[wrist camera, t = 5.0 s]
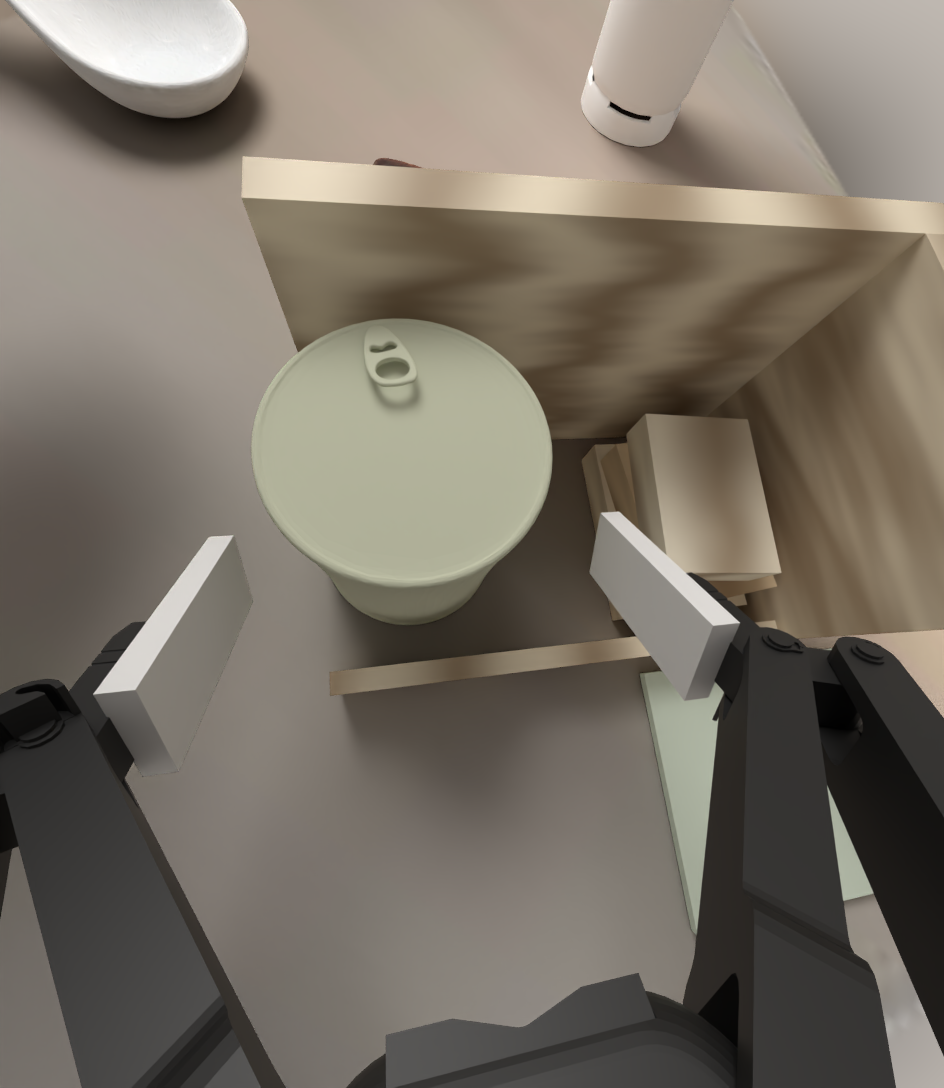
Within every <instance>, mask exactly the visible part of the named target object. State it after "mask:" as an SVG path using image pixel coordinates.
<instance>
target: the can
mask: <svg viewBox="0 0 944 1088" xmlns="http://www.w3.org/2000/svg"><path fill="white" fill-rule="evenodd" d="M552 457H553V456H552V443H551V436H550V431H549V427H548V424H547V420H546V417H545V414H544V412H543V410H542V407H541V405H540V403H539V401H538V399H537V397H536V395H535V393H534V392H533V390H532V389H531V387H530V386H529V384H528V383H527V381H526V380H525V379H524V378H523V376H522V375H521V374H520V373H519V372H518V370H517V369H516V368H515V367H514V366H513V365H512V364H511V363H510V362H509V361H508V360H506V359H505V358H504V357H503V356H502V355H501V354H499V353H498V352H497V351H495V350H494V349H493V348H491V347H490V346H488V345H487V344H485V343H483V342H482V341H480V340H478V339H477V338H475V337H473V336H470V335H468V334H466V333H464V332H462V331H460V330H457V329H454V328H451V327H448V326H445V325H441V324H437V323H433V322H429V321H423V320H415V319H394V318H391V319H378V320H371V321H365V322H361V323H357V324H353V325H349V326H347V327H344V328H341V329H338V330H335V331H333V332H331V333H329V334H327V335H325V336H323V337H321V338H319V339H317V340H315V341H314V342H312V343H311V344H309V345H308V346H306V347H305V348H303V349H302V350H301V351H300V352H298V353H297V354H296V355H295V356H294V357H293V358H291V359H290V360H289V361H288V362H287V364H286V365H285V366H284V367H283V368H282V369H281V370H280V371H279V373H278V374H277V375H276V376H275V378H274V379H273V381H272V382H271V384H270V386H269V387H268V389H267V390H266V392H265V395H264V397H263V399H262V401H261V403H260V405H259V408H258V411H257V414H256V417H255V421H254V426H253V431H252V441H251V460H252V467H253V473H254V478H255V482H256V486H257V489H258V492H259V494H260V497H261V500H262V502H263V504H264V506H265V508H266V510H267V512H268V514H269V515H270V517H271V519H272V520H273V522H274V523H275V525H276V526H277V527H278V529H279V530H280V531H281V533H282V534H283V535H284V536H285V537H286V538H287V539H288V540H289V542H290V543H291V544H292V545H293V546H295V547H296V548H297V549H298V550H299V551H300V552H301V553H302V554H304V555H305V556H306V557H308V558H309V559H310V560H312V561H313V562H315V563H316V564H317V565H318V566H319V567H321V568H322V569H323V570H324V571H325V572H326V573H327V574H328V575H329V577H330V578H331V579H332V581H333V582H334V584H335V586H336V587H337V589H338V591H339V592H340V593H341V594H342V596H343V597H344V598H345V599H346V600H347V601H348V602H349V603H350V604H351V605H353V606H354V607H355V608H356V609H358V610H359V611H361V612H362V613H364V614H366V615H368V616H370V617H372V618H374V619H377V620H380V621H383V622H386V623H391V624H396V625H419V624H425V623H429V622H433V621H436V620H439V619H441V618H444V617H446V616H448V615H450V614H451V613H453V612H455V611H456V610H458V609H459V608H460V607H462V606H463V605H464V604H465V603H466V602H467V601H468V600H469V599H470V598H471V597H472V596H473V595H474V594H475V592H476V591H477V590H478V588H479V587H480V585H481V583H482V581H483V579H484V578H485V575H486V574H487V573H488V572H489V571H490V570H491V568H492V567H493V566H494V565H495V564H496V563H497V562H498V561H499V560H501V559H502V558H503V557H504V556H506V555H507V554H508V553H509V552H510V551H511V550H512V549H513V548H514V547H515V546H516V545H517V544H518V543H519V542H520V541H521V540H522V539H523V538H524V536H525V535H526V534H527V533H528V531H529V530H530V528H531V527H532V525H533V524H534V522H535V521H536V519H537V517H538V515H539V513H540V511H541V509H542V506H543V504H544V502H545V499H546V496H547V493H548V489H549V484H550V479H551V474H552Z"/></svg>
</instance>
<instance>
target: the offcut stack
mask: <svg viewBox="0 0 944 1088" xmlns="http://www.w3.org/2000/svg"><path fill="white" fill-rule="evenodd" d="M626 437H627V443H622V444H603V445H594V446H593V447H592V448H591V450H590V451H589V452H588V453H587V454H586V455H585V457H584V458H583V459H582V460H581V461H582V466H583V471H584V476H585V482H586V487H587V492H588V497H589V502H590V508H591V513H592V518H593V523H594V528H595V534H596V535H597V529H598V524H599V518H600V513H605V512H620V513H621V514H622V515H623V516H624V517H625V518H627V519H628V520H629V521H630V522H631V523H632V524H633V525H634V526H635V527H636V528H637V529H639V530H640V531H641V532H642V533H643V534H644V535H645V536H646V537H647V538H648V539H649V540H651V541H652V542H653V543H654V544H655V545H656V546H657V547H658V548H659V549H660V550H661V551H662V552H664V553H665V554H666V555H667V556H668V557H669V558H670V559H671V560H672V561H673V562H674V563H676V564H677V565H678V566H679V567H680V568H681V569H682V570H683V571H684V572H685V573H689V572H692V573H694V574H696V575H698V576H700V577H701V578H703V579H705V580H707V581H708V582H709V583H710V584H712V585H713V586H714V587H715V588H716V589H717V590H718V592H721V593H722V594H723V595H724V596H725V597H726V598H727V600H728V601H731V602H732V603H733V604H734V605H735V606H742V605H747V602H746V599H745V595H744V594H746V593H751V592H755V591H759V590H764V589H768V588H772V587H777V584H776V582H775V579H774V576H773V575H775V574H779V573H781V568H780V564H779V559H778V555H777V550H776V546H775V541H774V536H773V532H772V527H771V523H770V518H769V514H768V509H767V504H766V500H765V495H764V491H763V486H762V482H761V477H760V472H759V468H758V463H757V459H756V454H755V450H754V445H753V441H752V436H751V431H750V427H749V422H748V419H732V418H714V417H697V416H679V415H662V414H645V415H644V416H643V417H642V418H641V419H640V420H639V421H638V422H637V423H636V424H635V425H634V426H633V427H632V429H631V430H630V431H629V432H628V433H627V434H626ZM608 601H609V606H610V612H611V617H612V621H616V620H624V619H623V617H622V616H621V615H620V613H619V612H618V611H617V609H616V608H615V607H614V605H613V604H612V603H611V601H610V600H609V598H608Z"/></svg>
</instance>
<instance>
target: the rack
mask: <svg viewBox="0 0 944 1088" xmlns="http://www.w3.org/2000/svg"><path fill="white" fill-rule="evenodd" d="M242 200H243V203H244V205H245V208H246V211H247V214H248V216H249V219H250V222H251V225H252V227H253V230H254V233H255V236H256V238H257V241H258V244H259V247H260V249H261V252H262V255H263V258H264V260H265V263H266V266H267V269H268V271H269V274H270V277H271V280H272V282H273V285H274V288H275V291H276V293H277V296H278V299H279V301H280V304H281V307H282V310H283V312H284V315H285V318H286V321H287V323H288V326H289V329H290V332H291V334H292V337H293V340H294V343H295V345H296V348H297V351H298V352H300V351H301V350H302V349H303V348H305V347H306V346H308V345H309V344H311V343H312V342H314V341H315V340H317V339H319V338H321V337H323V336H325V335H327V334H329V333H331V332H333V331H335V330H338V329H341V328H344V327H347V326H349V325H353V324H357V323H361V322H365V321H371V320H378V319H391V318H394V319H415V320H423V321H429V322H433V323H437V324H441V325H445V326H448V327H451V328H454V329H457V330H460V331H462V332H464V333H466V334H468V335H470V336H473V337H475V338H477V339H478V340H480V341H482V342H483V343H485V344H487V345H488V346H490V347H491V348H493V349H494V350H495V351H497V352H498V353H499V354H501V355H502V356H503V357H504V358H505V359H506V360H508V361H509V362H510V363H511V364H512V365H513V366H514V367H515V368H516V369H517V370H518V372H519V373H520V374H521V375H522V376H523V378H524V379H525V380H526V381H527V383H528V384H529V386H530V387H531V389H532V390H533V392H534V393H535V395H536V397H537V399H538V401H539V403H540V405H541V407H542V410H543V412H544V414H545V417H546V420H547V424H548V427H549V431H550V436H551V440H556V439H584V438H612V437H626V434H627V433H628V432H629V431H630V430H631V429H632V427H633V426H634V425H635V424H636V423H637V422H638V421H639V420H640V419H641V418H642V417H643V416H644V415H645V414H662V415H679V416H697V417H714V418H732V419H748V422H749V427H750V431H751V436H752V441H753V445H754V450H755V454H756V459H757V463H758V468H759V472H760V477H761V482H762V486H763V491H764V495H765V500H766V504H767V509H768V514H769V518H770V523H771V527H772V532H773V536H774V541H775V546H776V550H777V555H778V559H779V564H780V568H781V573H779V574H775V575H773V576H774V579H775V582H776V584H777V587H772V588H768V589H764V590H759V591H755V592H751V593H746V594H744V595H745V599H746V602H747V605H742V606H737V607H738V608H739V609H740V610H741V611H742V612H743V613H744V614H746V615H747V616H748V617H749V618H750V619H751V620H752V621H754V622H755V623H756V624H757V625H758V626H759V627H769V628H774V629H778V630H781V631H783V632H786V633H789V634H790V635H792V636H793V637H795V638H797V639H799V638H815V637H831V636H848V635H864V634H880V633H896V632H912V631H928V630H944V203H933V202H918V201H903V200H888V199H873V198H858V197H843V196H828V195H813V194H799V193H784V192H769V191H754V190H739V189H724V188H709V187H694V186H679V185H664V184H649V183H634V182H619V181H604V180H589V179H574V178H559V177H544V176H529V175H514V174H500V173H485V172H470V171H455V170H440V169H425V168H410V167H395V166H380V165H365V164H350V163H335V162H320V161H305V160H290V159H275V158H260V157H245V156H243V167H242ZM646 656H651V655H650V654H649V653H648V651H647V650H646V649H645V647H644V646H643V644H642V643H641V642H640V640H639V639H638V638H637V636H635V637H626V638H618V639H609V640H601V641H592V642H583V643H575V644H566V645H558V646H549V647H540V648H532V649H523V650H515V651H506V652H497V653H489V654H480V655H472V656H463V657H454V658H446V659H437V660H429V661H420V662H411V663H403V664H394V665H386V666H377V667H368V668H360V669H351V670H343V671H334V672H330V696H333V695H341V694H349V693H357V692H365V691H373V690H381V689H389V688H397V687H405V686H413V685H421V684H429V683H437V682H445V681H453V680H461V679H469V678H477V677H485V676H493V675H501V674H509V673H517V672H525V671H533V670H542V669H550V668H558V667H566V666H574V665H582V664H590V663H598V662H606V661H614V660H622V659H630V658H638V657H646Z"/></svg>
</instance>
